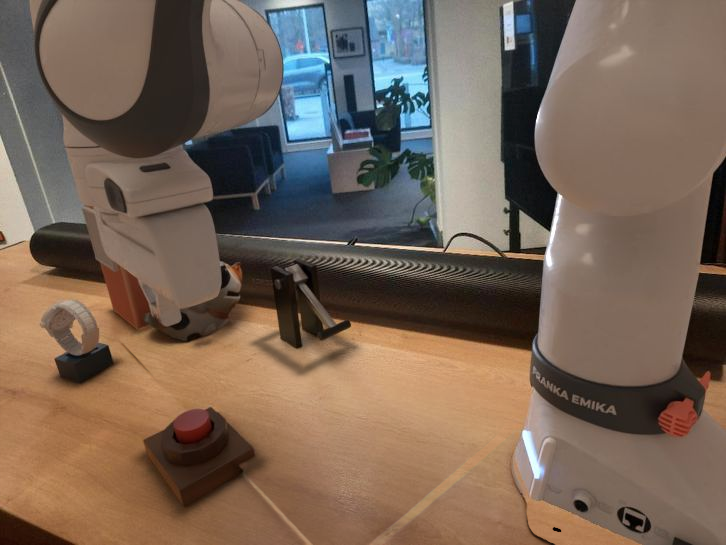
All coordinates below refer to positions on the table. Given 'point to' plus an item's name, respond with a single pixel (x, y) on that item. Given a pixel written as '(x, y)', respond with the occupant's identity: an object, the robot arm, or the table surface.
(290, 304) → the bracket
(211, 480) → the button box
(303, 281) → the lever
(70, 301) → the watch
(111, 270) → the control panel
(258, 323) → the table surface
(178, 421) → the button
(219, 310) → the lucky cat figurine
